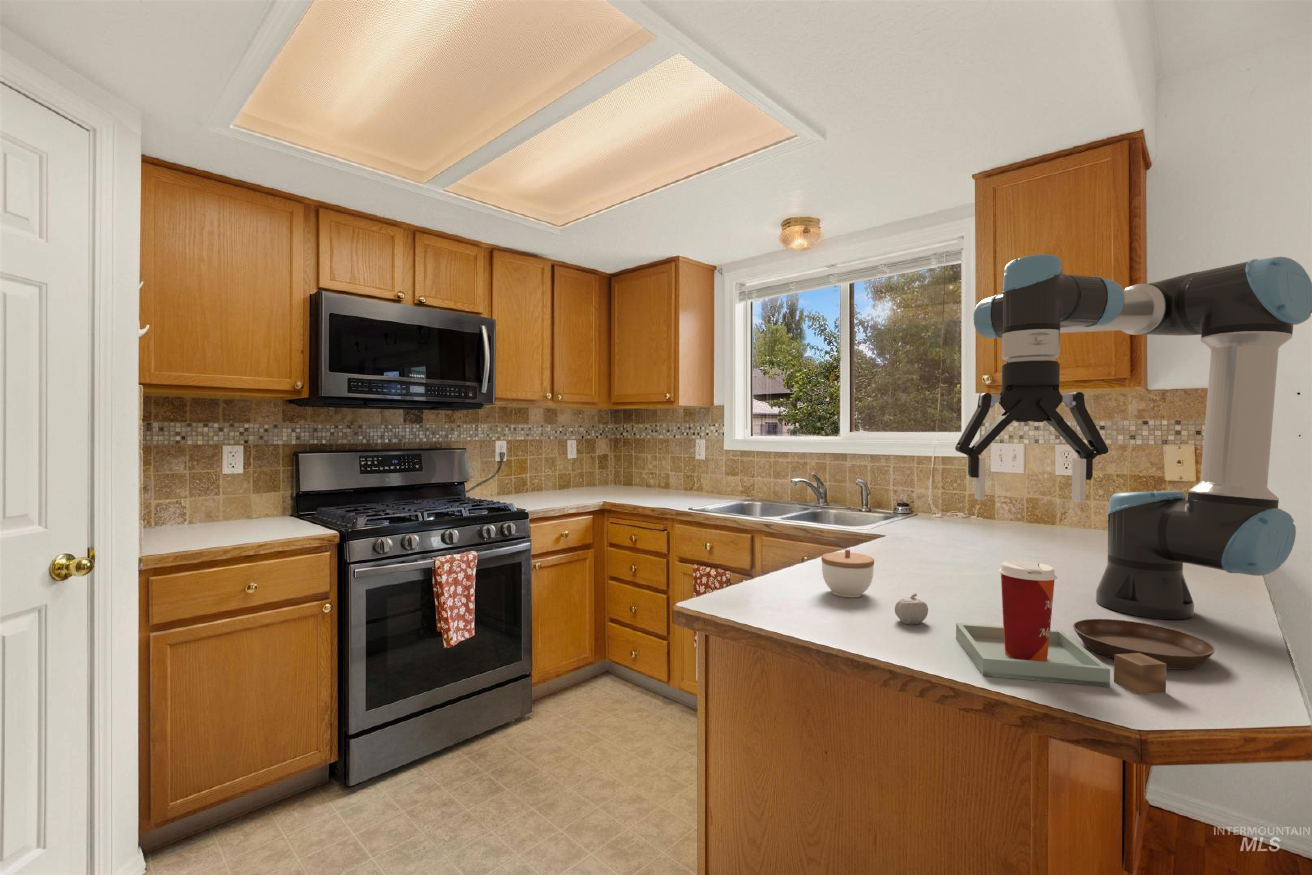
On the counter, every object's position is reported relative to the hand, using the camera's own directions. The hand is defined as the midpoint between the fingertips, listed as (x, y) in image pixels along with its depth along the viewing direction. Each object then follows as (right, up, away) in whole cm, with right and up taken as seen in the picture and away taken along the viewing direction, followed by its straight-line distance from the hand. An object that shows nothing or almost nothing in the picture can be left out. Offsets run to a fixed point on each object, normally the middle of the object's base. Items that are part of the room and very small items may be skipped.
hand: (1028, 500), depth 94 cm
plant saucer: (+20, -25, +4) cm, 32 cm away
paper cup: (0, -24, +1) cm, 24 cm away
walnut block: (+10, -25, -9) cm, 28 cm away
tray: (0, -25, +1) cm, 25 cm away
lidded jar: (-16, -24, +37) cm, 47 cm away
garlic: (-10, -24, +18) cm, 32 cm away
